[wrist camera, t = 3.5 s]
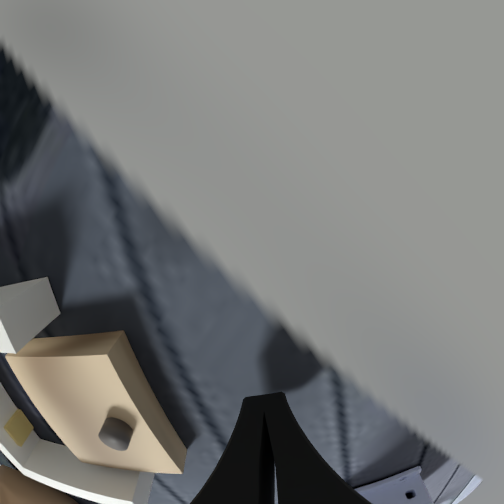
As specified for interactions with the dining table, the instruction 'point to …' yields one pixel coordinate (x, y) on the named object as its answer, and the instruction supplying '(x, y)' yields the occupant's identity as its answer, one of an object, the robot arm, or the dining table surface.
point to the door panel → (99, 401)
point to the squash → (28, 490)
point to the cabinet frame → (21, 430)
